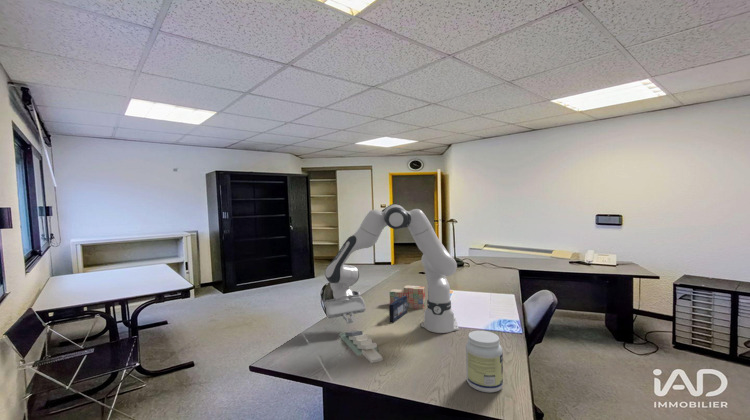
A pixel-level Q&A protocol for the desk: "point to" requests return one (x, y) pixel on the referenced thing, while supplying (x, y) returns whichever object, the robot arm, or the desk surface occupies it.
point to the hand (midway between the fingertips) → (350, 322)
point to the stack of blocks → (410, 296)
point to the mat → (351, 345)
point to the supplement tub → (484, 361)
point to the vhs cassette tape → (397, 309)
